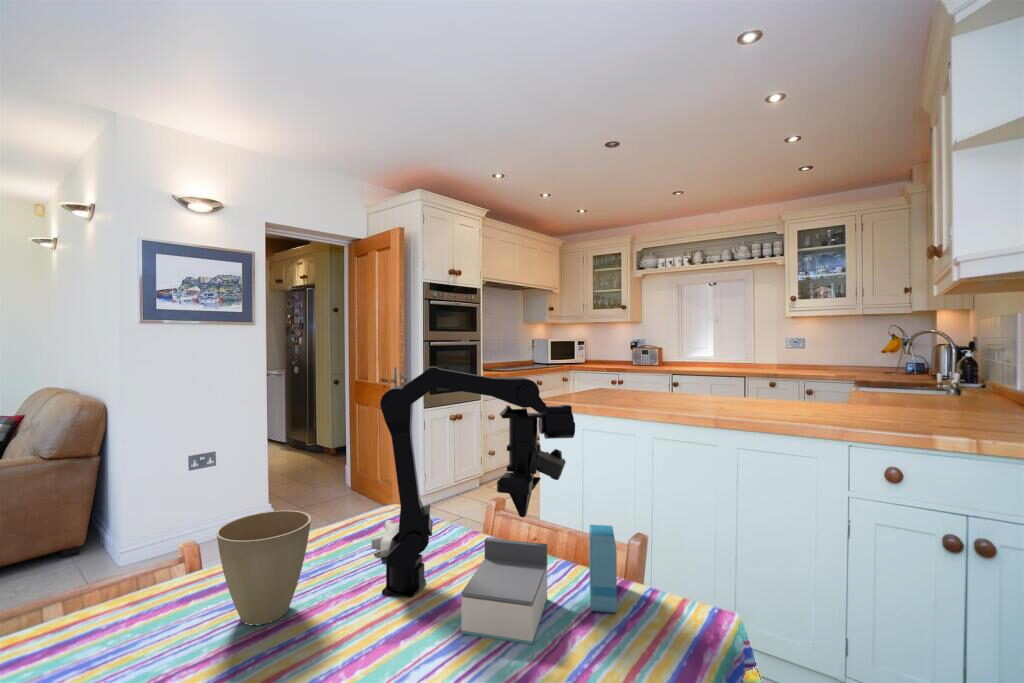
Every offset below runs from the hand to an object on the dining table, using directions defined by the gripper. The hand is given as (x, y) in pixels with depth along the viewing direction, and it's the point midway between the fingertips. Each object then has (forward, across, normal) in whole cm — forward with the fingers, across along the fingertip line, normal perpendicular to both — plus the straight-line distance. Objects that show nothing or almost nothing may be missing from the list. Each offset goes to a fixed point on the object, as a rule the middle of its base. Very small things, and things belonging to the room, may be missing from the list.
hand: (523, 515), depth 96 cm
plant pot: (+13, -23, +42) cm, 50 cm away
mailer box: (+13, -13, 0) cm, 18 cm away
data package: (+13, -3, -16) cm, 21 cm away
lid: (+7, -13, 0) cm, 15 cm away
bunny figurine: (+13, +8, +33) cm, 37 cm away
